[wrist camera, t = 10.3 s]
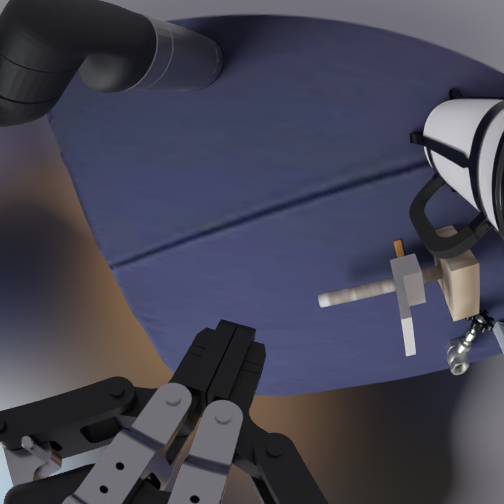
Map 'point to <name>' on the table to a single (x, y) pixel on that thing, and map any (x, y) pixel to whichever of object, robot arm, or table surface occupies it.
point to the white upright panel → (408, 294)
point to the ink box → (499, 333)
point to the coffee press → (463, 168)
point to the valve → (466, 342)
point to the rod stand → (445, 271)
